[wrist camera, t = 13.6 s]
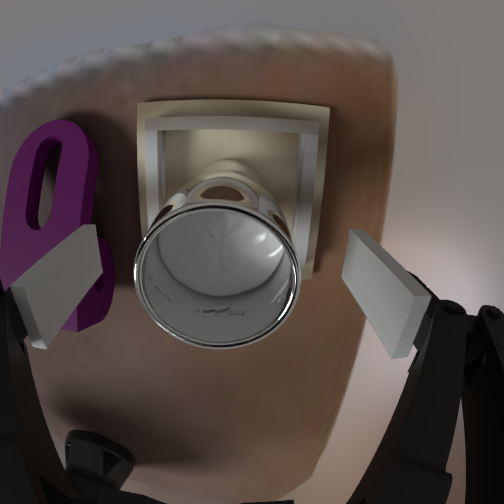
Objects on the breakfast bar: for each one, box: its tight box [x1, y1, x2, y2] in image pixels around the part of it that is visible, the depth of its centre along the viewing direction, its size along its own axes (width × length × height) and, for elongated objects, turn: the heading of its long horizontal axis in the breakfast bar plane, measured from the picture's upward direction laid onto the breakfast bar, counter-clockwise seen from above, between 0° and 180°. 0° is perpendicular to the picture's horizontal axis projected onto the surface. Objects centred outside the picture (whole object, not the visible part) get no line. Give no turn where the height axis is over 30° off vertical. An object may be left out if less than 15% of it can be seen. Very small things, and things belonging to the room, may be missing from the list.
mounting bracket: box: [0, 120, 115, 332], centre depth 24 cm, size 10×8×18 cm
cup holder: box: [137, 100, 330, 279], centre depth 24 cm, size 16×16×4 cm
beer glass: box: [133, 160, 301, 350], centre depth 18 cm, size 7×7×15 cm
